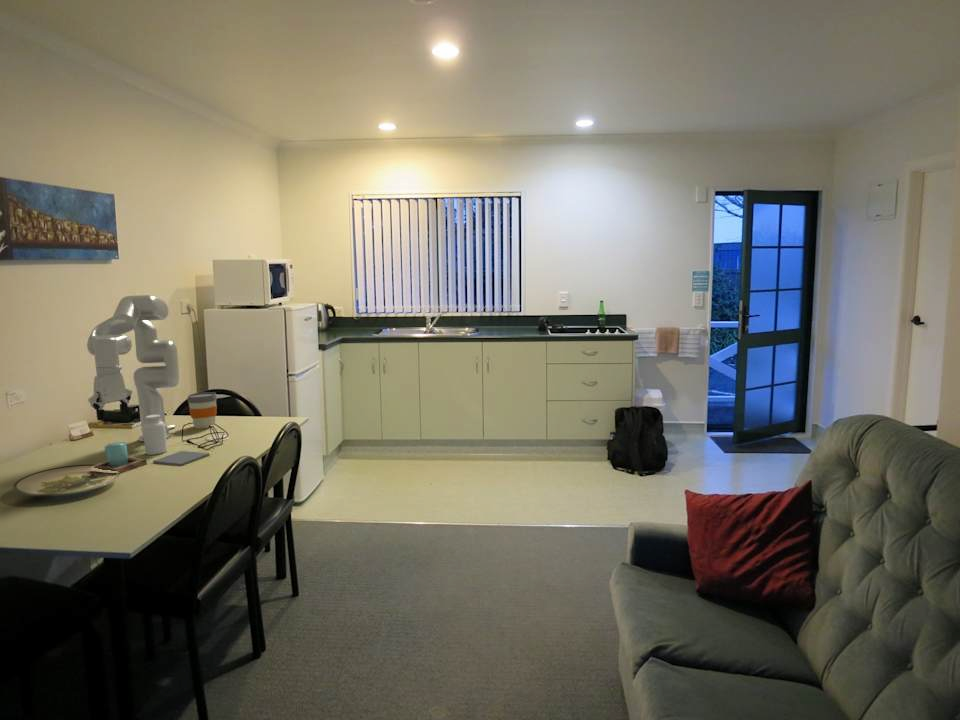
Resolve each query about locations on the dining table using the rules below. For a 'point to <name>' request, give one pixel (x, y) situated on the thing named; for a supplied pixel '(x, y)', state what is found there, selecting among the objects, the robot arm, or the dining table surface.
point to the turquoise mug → (116, 454)
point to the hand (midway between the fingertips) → (113, 417)
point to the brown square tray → (132, 464)
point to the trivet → (181, 458)
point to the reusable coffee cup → (203, 409)
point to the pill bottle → (154, 435)
